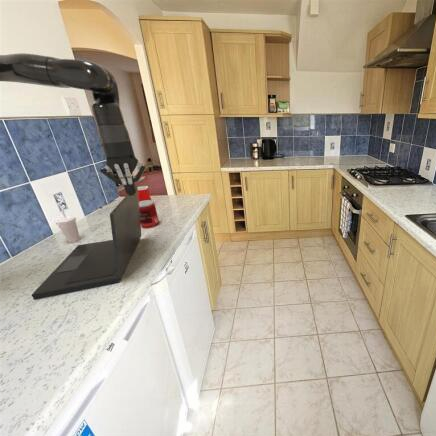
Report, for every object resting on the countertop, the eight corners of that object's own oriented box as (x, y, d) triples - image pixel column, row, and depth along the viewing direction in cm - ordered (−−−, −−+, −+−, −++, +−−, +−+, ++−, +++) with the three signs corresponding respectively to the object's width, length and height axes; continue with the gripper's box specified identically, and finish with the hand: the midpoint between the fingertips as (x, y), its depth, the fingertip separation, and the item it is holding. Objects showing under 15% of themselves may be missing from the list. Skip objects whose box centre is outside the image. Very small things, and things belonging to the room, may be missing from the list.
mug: (137, 205, 140) (132, 187, 136) (153, 203, 143) (148, 185, 138) (133, 212, 130) (127, 193, 126) (150, 210, 132) (145, 191, 128)
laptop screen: (109, 213, 67) (112, 213, 67) (134, 186, 93) (137, 186, 93) (117, 278, 74) (120, 277, 74) (139, 235, 100) (141, 235, 100)
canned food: (156, 220, 119) (151, 198, 115) (161, 224, 114) (156, 202, 109) (139, 224, 115) (132, 202, 110) (143, 230, 109) (136, 207, 105)
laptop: (34, 299, 69) (30, 294, 68) (79, 249, 95) (78, 244, 94) (119, 282, 75) (117, 277, 74) (140, 239, 101) (138, 235, 100)
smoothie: (70, 245, 98) (56, 213, 92) (60, 242, 100) (46, 211, 94) (87, 237, 103) (75, 207, 98) (77, 235, 106) (65, 205, 100)
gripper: (142, 138, 79) (156, 189, 85) (94, 140, 75) (112, 194, 82) (137, 140, 72) (152, 195, 79) (84, 142, 68) (105, 201, 75)
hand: (132, 194), depth 80 cm, fingers closed
